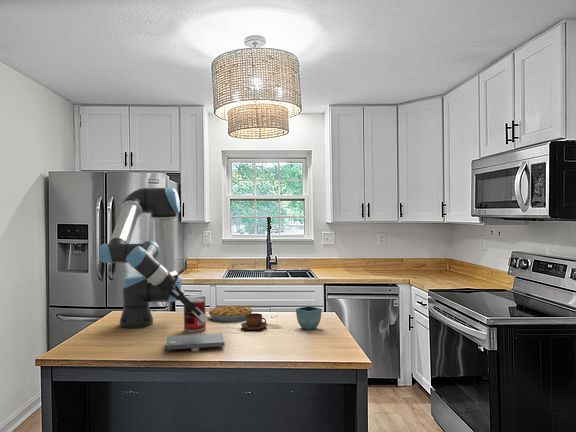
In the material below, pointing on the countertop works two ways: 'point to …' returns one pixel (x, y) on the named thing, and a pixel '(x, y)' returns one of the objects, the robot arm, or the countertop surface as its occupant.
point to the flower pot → (308, 317)
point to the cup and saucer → (254, 322)
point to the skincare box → (184, 313)
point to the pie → (229, 313)
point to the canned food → (192, 320)
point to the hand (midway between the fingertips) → (203, 317)
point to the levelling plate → (194, 341)
